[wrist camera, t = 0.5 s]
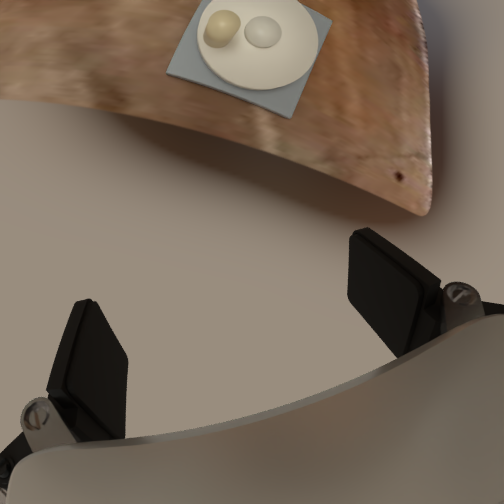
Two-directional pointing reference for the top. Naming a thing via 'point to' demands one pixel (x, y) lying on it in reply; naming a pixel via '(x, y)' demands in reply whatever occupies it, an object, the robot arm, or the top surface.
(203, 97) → the top surface
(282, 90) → the base board
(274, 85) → the dial
